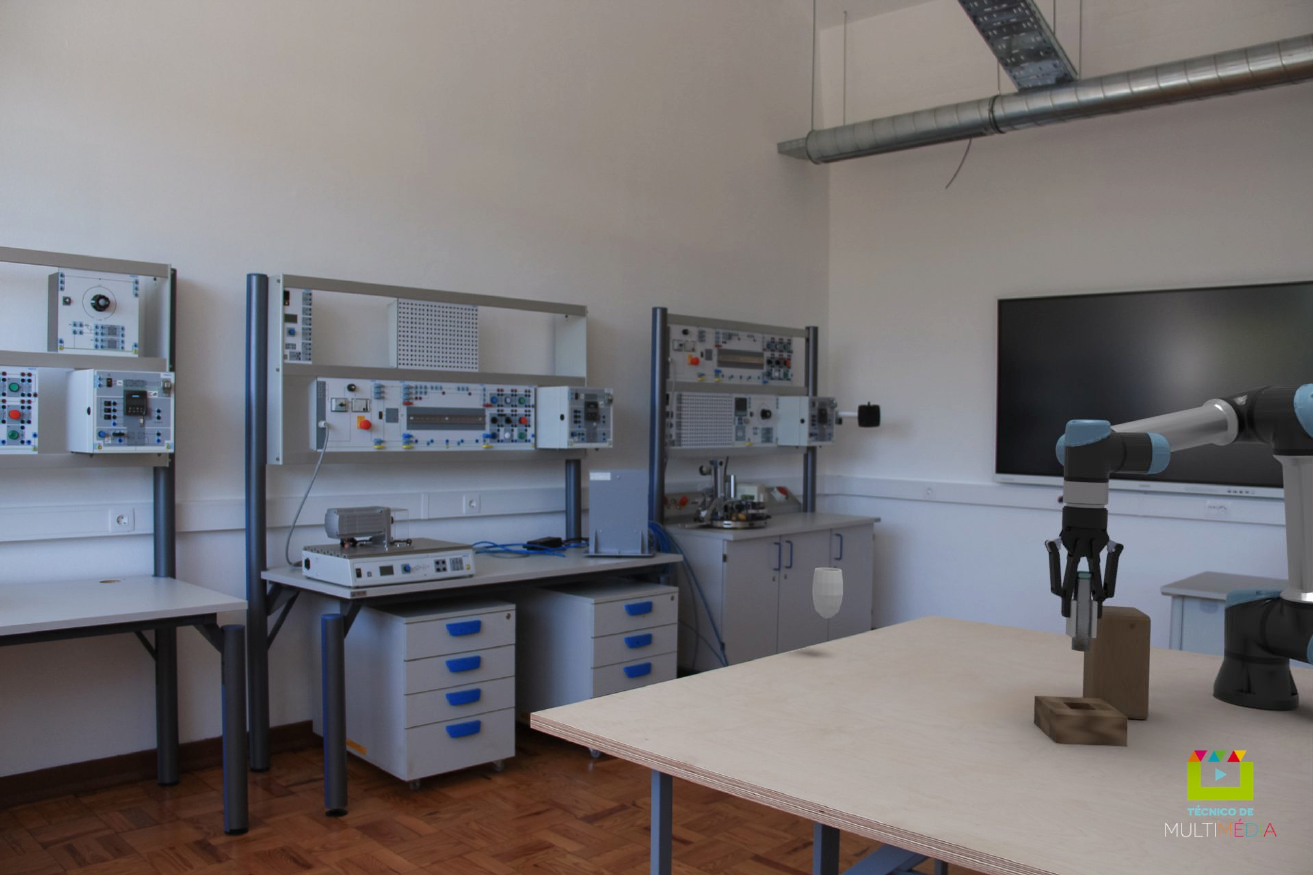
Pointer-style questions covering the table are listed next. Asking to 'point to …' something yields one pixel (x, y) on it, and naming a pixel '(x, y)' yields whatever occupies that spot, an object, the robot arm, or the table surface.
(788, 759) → the table surface
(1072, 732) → the socket block
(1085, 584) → the peg
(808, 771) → the table surface
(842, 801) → the table surface
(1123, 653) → the wooden block
